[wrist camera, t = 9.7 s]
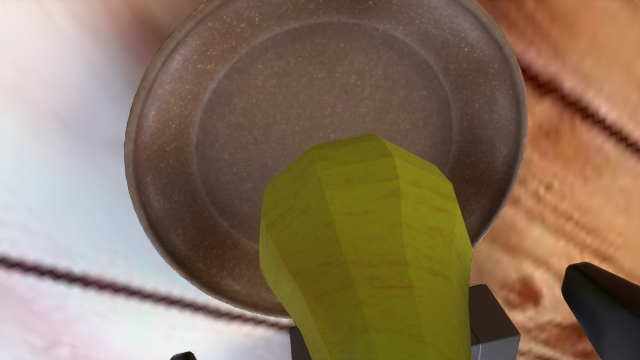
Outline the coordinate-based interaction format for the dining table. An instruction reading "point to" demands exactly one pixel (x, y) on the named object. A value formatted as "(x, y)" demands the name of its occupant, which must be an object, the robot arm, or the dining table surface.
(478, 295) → the holder
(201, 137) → the saucer
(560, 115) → the dining table surface
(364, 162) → the fruit
